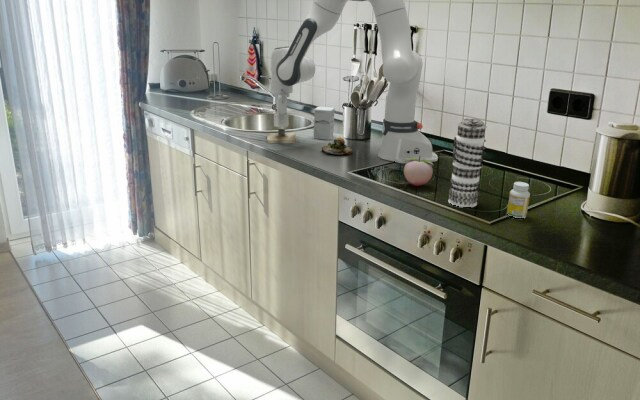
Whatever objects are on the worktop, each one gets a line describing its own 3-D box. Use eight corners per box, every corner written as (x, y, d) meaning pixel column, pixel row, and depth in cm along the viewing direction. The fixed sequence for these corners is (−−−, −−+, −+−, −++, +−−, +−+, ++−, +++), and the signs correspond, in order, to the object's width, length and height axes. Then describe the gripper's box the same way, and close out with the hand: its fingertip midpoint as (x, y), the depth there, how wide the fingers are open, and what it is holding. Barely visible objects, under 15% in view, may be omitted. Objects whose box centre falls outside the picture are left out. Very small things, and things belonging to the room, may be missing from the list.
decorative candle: (446, 196, 173) (455, 116, 164) (476, 198, 172) (487, 118, 163) (447, 206, 165) (456, 122, 156) (479, 209, 163) (491, 124, 155)
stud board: (295, 136, 240) (295, 126, 239) (296, 143, 229) (296, 133, 228) (267, 136, 239) (267, 126, 238) (267, 143, 228) (267, 133, 227)
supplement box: (313, 138, 237) (313, 109, 233) (317, 134, 244) (318, 105, 239) (330, 140, 235) (331, 110, 231) (333, 136, 242) (334, 107, 238)
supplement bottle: (515, 220, 156) (520, 187, 152) (502, 213, 160) (507, 182, 157) (530, 218, 158) (535, 185, 154) (517, 211, 162) (522, 180, 159)
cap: (288, 124, 235) (288, 112, 233) (288, 127, 230) (288, 115, 228) (273, 124, 235) (273, 112, 233) (274, 127, 229) (274, 115, 227)
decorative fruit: (402, 189, 178) (404, 159, 174) (402, 181, 186) (404, 152, 182) (432, 191, 177) (435, 161, 173) (431, 183, 184) (434, 154, 181)
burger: (315, 151, 219) (316, 133, 216) (339, 147, 225) (340, 129, 223) (334, 159, 210) (335, 139, 207) (358, 154, 216) (359, 135, 214)
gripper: (290, 92, 217) (290, 127, 222) (288, 84, 236) (288, 116, 241) (274, 92, 217) (274, 127, 222) (273, 83, 236) (273, 116, 241)
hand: (281, 121), depth 232 cm, fingers closed on cap, 6 cm apart
